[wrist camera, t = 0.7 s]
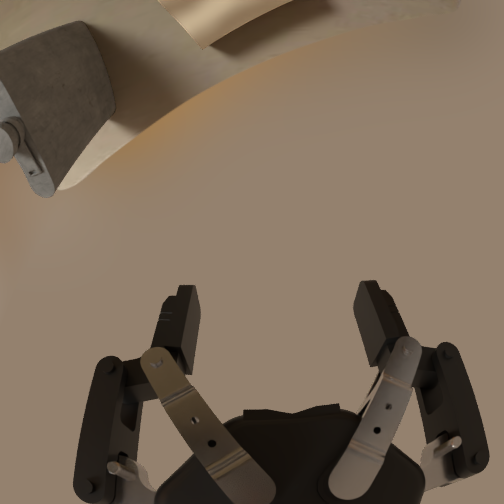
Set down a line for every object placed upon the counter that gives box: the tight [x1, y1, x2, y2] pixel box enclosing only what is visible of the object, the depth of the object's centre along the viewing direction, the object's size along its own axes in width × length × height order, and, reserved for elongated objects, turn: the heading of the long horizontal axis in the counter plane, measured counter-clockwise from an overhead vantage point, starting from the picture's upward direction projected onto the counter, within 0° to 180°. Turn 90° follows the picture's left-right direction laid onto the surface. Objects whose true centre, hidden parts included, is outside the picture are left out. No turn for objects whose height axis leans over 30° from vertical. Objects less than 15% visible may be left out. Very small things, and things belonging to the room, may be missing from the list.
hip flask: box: [0, 21, 116, 198], centre depth 20 cm, size 16×4×20 cm, turn 9°
